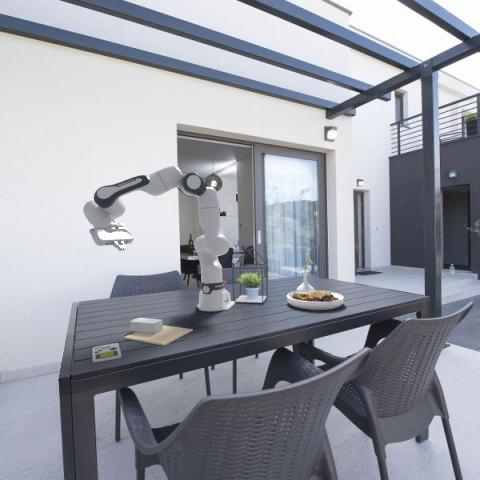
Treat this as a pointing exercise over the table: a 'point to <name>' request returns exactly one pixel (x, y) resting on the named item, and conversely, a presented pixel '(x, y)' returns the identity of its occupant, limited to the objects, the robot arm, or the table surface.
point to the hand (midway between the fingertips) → (122, 249)
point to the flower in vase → (305, 280)
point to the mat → (160, 335)
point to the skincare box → (146, 325)
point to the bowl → (315, 300)
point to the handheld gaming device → (106, 352)
